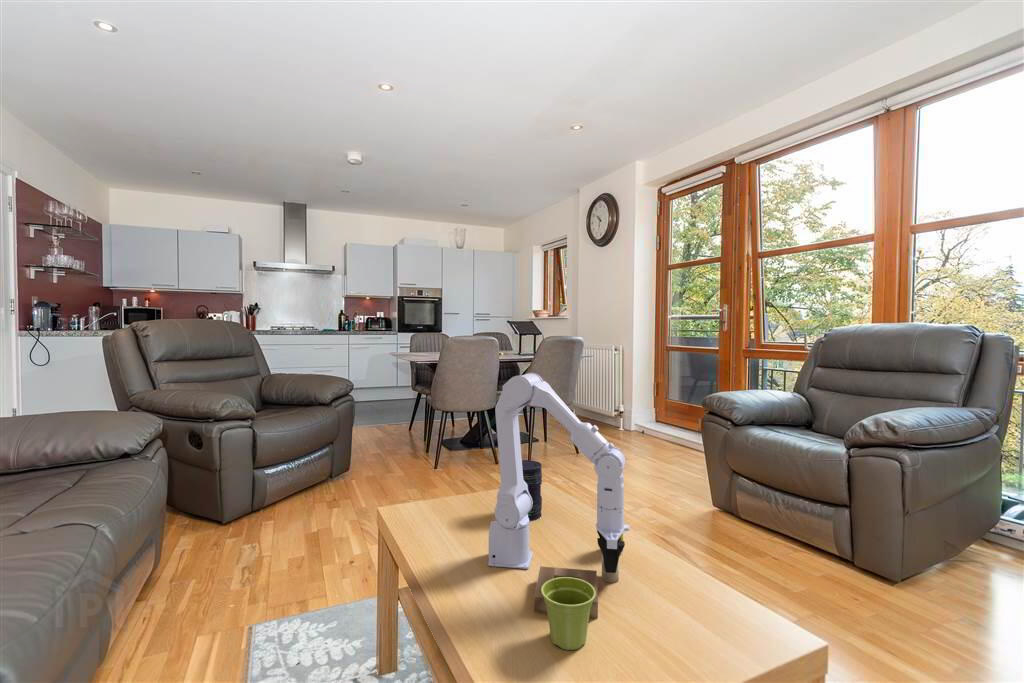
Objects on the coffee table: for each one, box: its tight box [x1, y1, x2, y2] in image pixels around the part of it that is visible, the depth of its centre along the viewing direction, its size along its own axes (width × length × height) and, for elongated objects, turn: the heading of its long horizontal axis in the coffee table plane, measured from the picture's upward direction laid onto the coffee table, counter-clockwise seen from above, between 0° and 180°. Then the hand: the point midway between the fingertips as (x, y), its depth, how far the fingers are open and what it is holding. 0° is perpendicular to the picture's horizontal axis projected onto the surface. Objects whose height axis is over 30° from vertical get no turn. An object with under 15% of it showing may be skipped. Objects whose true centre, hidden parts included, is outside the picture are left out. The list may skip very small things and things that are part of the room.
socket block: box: [533, 565, 599, 619], centre depth 96 cm, size 12×12×3 cm
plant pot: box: [541, 577, 596, 651], centre depth 83 cm, size 9×9×9 cm
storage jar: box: [522, 459, 543, 522], centre depth 139 cm, size 10×10×15 cm
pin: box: [601, 554, 620, 584], centre depth 103 cm, size 4×4×8 cm
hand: (610, 567), depth 103 cm, fingers closed on pin, 4 cm apart
